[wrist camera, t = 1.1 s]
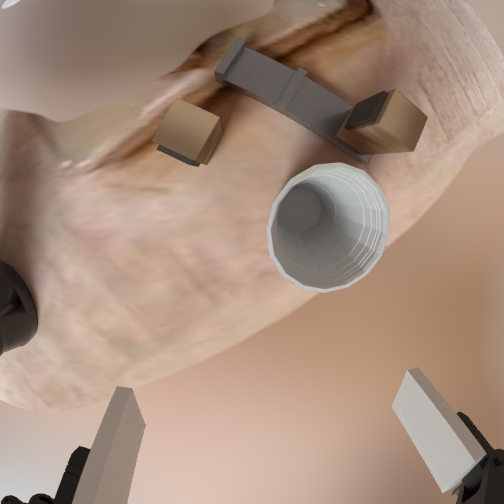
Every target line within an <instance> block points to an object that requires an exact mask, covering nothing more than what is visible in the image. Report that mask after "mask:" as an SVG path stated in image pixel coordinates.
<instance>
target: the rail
mask: <svg viewBox="0 0 504 504" xmlns="http://www.w3.org/2000/svg"><path fill="white" fill-rule="evenodd" d="M245 45H246V41H245V40H243V39H241V38H237V39H236V40H235V42H234V43H233V45H232V46H231V47H230V49H229V50H228V52H227V53H226V54H225V56H224V57H223V59H222V60H221V62H220V63H219V65H218V66H217V68H216V69H215V71H214V72H215V77H216V81H217V82H219V83H221V84H223V85H226V86H228V87H230V88H232V89H234V90H237V91H239V92H241V93H243V94H245V95H247V96H249V97H251V98H253V99H255V100H257V101H259V102H261V103H263V104H265V105H267V106H269V107H271V108H272V109H274V110H276V111H278V112H280V113H282V114H284V115H285V116H287V117H289V118H291V119H292V120H294V121H296V122H298V123H299V124H301V125H303V126H304V127H306V128H308V129H309V130H311V131H313V132H314V133H316V134H318V135H319V136H321V137H322V138H324V139H326V140H327V141H329V142H330V143H332V144H333V145H335V146H336V147H338V148H339V149H341V150H342V151H344V152H345V153H347V154H348V155H350V156H351V157H353V158H354V159H355V160H357V161H358V162H360V163H369V161H370V159H371V157H372V155H373V154H371V155H363V154H361V153H360V152H359V151H357V150H356V149H354V148H353V147H352V146H350V145H349V144H347V143H346V142H344V141H343V140H341V139H340V138H338V137H337V136H336V135H337V134H338V132H339V130H340V128H341V126H342V124H343V122H344V120H345V119H346V117H347V115H348V113H349V111H350V109H352V108H354V107H353V106H351V105H350V104H348V103H347V102H345V101H344V100H342V99H341V98H339V97H338V96H336V95H335V94H333V93H332V92H330V91H328V90H327V89H325V88H324V87H322V86H320V85H319V84H317V83H315V82H314V81H312V80H310V79H309V78H307V77H305V75H306V74H307V72H308V71H306V70H304V69H303V68H301V67H299V69H298V70H297V72H296V71H294V70H292V69H291V68H289V67H287V66H285V65H283V64H281V63H279V62H277V61H275V60H273V59H271V58H269V57H267V56H265V55H263V54H261V53H258V52H256V51H254V50H252V49H249V48H247V47H245Z"/></svg>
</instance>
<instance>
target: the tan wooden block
mask: <svg viewBox="0 0 504 504" xmlns="http://www.w3.org/2000/svg"><path fill="white" fill-rule="evenodd" d="M222 136H223V130H222V126H221V121H220V117H218V116H216V115H214V114H212V113H210V112H208V111H205V110H203V109H201V108H199V107H196V106H194V105H192V104H190V103H187V102H185V101H182V100H180V99H178V98H175V100H174V102H173V104H172V105H171V107H170V109H169V111H168V112H167V114H166V116H165V118H164V119H163V121H162V123H161V125H160V127H159V129H158V131H157V133H156V134H155V136H154V138H153V140H152V141H153V142H155V143H158V144H159V146H158V148H157V150H159V151H161V152H163V153H165V154H168V155H170V156H172V157H174V158H176V159H178V160H180V161H182V162H184V163H187V164H189V165H192V166H197V167H199V165H200V163H202V164H205V165H207V164H208V162H209V160H210V158H211V156H212V154H213V153H214V151H215V149H216V147H217V145H218V144H219V142H220V140H221V138H222Z"/></svg>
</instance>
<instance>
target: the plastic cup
mask: <svg viewBox="0 0 504 504" xmlns="http://www.w3.org/2000/svg"><path fill="white" fill-rule="evenodd" d="M389 233H390V212H389V207H388V204H387V202H386V199H385V197H384V194H383V192H382V189H381V187H380V186H379V185H378V184H377V183H376V182H375V181H374V180H373V179H372V178H371V177H370V176H369V175H368V174H367V173H366V172H365V171H364V170H361V169H358V168H355V167H353V166H350V165H347V164H344V163H341V162H338V163H328V164H318V165H314V166H312V167H310V168H308V169H307V170H305V171H303V172H301V173H300V174H298V175H296V176H295V177H293V178H291V179H290V180H289V182H288V183H287V184H286V186H285V187H284V188H283V190H282V191H281V192H280V193H279V195H278V196H277V197H276V199H275V200H274V201H273V204H272V208H271V212H270V216H269V219H268V223H267V227H266V234H267V241H268V248H269V255H270V257H271V259H272V260H273V262H274V263H275V265H276V267H277V268H278V270H279V271H280V273H281V275H282V276H283V277H284V278H286V279H287V280H289V281H290V282H292V283H294V284H295V285H297V286H298V287H300V288H301V289H305V290H311V291H317V292H324V293H325V292H330V291H334V290H338V289H343V288H347V287H349V286H350V285H352V284H353V283H355V282H356V281H358V280H360V279H361V278H363V277H364V276H366V275H367V274H368V273H369V271H370V270H371V269H372V268H373V266H374V265H375V264H376V262H377V261H378V260H379V259H380V257H381V256H382V253H383V251H384V248H385V245H386V242H387V239H388V236H389Z"/></svg>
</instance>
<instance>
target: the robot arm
mask: <svg viewBox="0 0 504 504" xmlns="http://www.w3.org/2000/svg"><path fill="white" fill-rule="evenodd" d="M36 331H37V314H36V309H35V305H34V302H33V300H32V297H31V295H30V293H29V291H28V289H27V287H26V285H25V284H24V282H23V280H22V279H21V278H20V276H19V275H18V274H17V273H16V272H15V271H14V270H13V269H12V268H11V267H10V266H9V265H7V264H5V263H3V262H0V356H1V355H2V354H3V353H4V352H7V351H9V350H12V349H14V348H17V347H19V346H23V345H25V344H27V343H28V342H29V341H30V340H31V339H32V338H33V337H34V335H35V333H36ZM392 408H393V410H394V411H395V413H396V415H397V416H398V418H399V419H400V421H401V423H402V424H403V426H404V428H405V429H406V431H407V433H408V434H409V436H410V438H411V439H412V441H413V443H414V444H415V446H416V448H417V449H418V451H419V453H420V454H421V456H422V458H423V459H424V461H425V463H426V465H427V466H428V468H429V470H430V471H431V473H432V475H433V477H434V479H435V480H436V482H437V484H438V486H439V488H440V489H441V491H442V493H444V492H445V491H447V490H449V489H450V488H452V487H454V486H455V485H456V484H457V483H458V482H459V481H460V480H462V483H461V484H460V485H459V486H458V487H457V488H456V489H455V490H454V491H453V493H452V495H454V494H455V493H456V492H457V491H458V490H459V492H458V493H457V494H456V495H458V498H457V503H456V504H504V450H502V449H496V450H494V449H493V448H492V447H491V446H490V444H489V443H488V442H487V440H486V439H485V438H484V436H483V435H482V434H481V433H480V431H479V430H477V427H476V426H475V425H473V422H472V421H471V420H470V419H469V417H468V416H466V415H465V414H463V413H462V412H458V413H455V411H454V410H453V409H452V407H451V406H450V405H449V404H448V402H447V401H446V400H445V399H444V398H443V396H442V395H441V394H440V393H439V391H437V389H436V388H435V387H434V385H433V384H432V383H431V382H430V381H429V379H428V378H427V377H426V376H425V375H424V373H423V372H422V371H421V370H420V369H419V368H414V369H411V370H407V372H406V375H405V377H404V379H403V382H402V384H401V387H400V389H399V392H398V394H397V396H396V398H395V400H394V402H393V405H392ZM144 429H145V422H144V420H143V417H142V415H141V412H140V409H139V407H138V404H137V401H136V399H135V396H134V393H133V390H132V388H125V387H118V386H117V387H116V390H115V392H114V394H113V396H112V399H111V401H110V403H109V406H108V408H107V410H106V413H105V415H104V418H103V420H102V422H101V425H100V427H99V430H98V432H97V435H96V437H95V440H94V443H93V445H92V448H91V449H88V448H85V447H81V446H79V447H78V448H77V449H76V450H75V451H74V452H73V453H72V454H71V457H70V459H69V462H68V465H67V467H66V469H65V472H64V474H63V477H62V480H61V483H60V485H59V488H58V490H57V493H56V496H55V498H54V499H53V498H51V497H50V496H48V495H46V494H36V495H33V496H32V497H31V499H30V500H29V503H23V502H22V501H20V500H19V499H18V498H17V497H15V496H12V495H10V496H6V497H4V498H3V500H2V501H1V504H127V501H128V496H129V491H130V487H131V482H132V478H133V473H134V469H135V465H136V460H137V457H138V452H139V448H140V444H141V440H142V436H143V433H144Z"/></svg>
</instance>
